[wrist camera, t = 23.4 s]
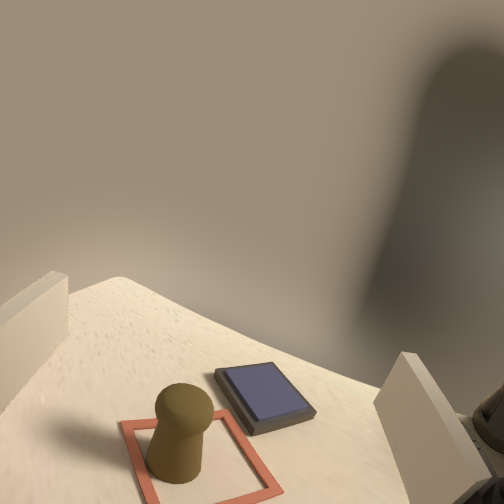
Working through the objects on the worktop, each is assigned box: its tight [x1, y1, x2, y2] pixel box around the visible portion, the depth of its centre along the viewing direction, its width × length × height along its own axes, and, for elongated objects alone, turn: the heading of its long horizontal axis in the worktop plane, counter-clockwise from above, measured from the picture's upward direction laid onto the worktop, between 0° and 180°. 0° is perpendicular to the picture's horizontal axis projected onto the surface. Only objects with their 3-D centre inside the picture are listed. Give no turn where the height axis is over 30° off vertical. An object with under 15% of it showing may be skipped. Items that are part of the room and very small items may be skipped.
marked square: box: [121, 409, 284, 504], centre depth 28 cm, size 14×14×1 cm
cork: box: [146, 383, 214, 484], centre depth 26 cm, size 6×6×11 cm
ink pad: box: [214, 362, 317, 436], centre depth 41 cm, size 12×10×2 cm
